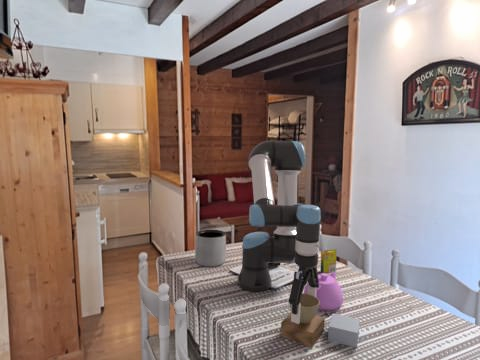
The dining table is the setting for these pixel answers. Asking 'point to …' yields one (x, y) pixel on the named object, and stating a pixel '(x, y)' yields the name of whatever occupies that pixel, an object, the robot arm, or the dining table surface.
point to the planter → (210, 248)
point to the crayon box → (328, 261)
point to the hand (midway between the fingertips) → (303, 313)
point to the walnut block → (303, 330)
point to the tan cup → (308, 308)
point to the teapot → (328, 292)
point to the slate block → (344, 330)
